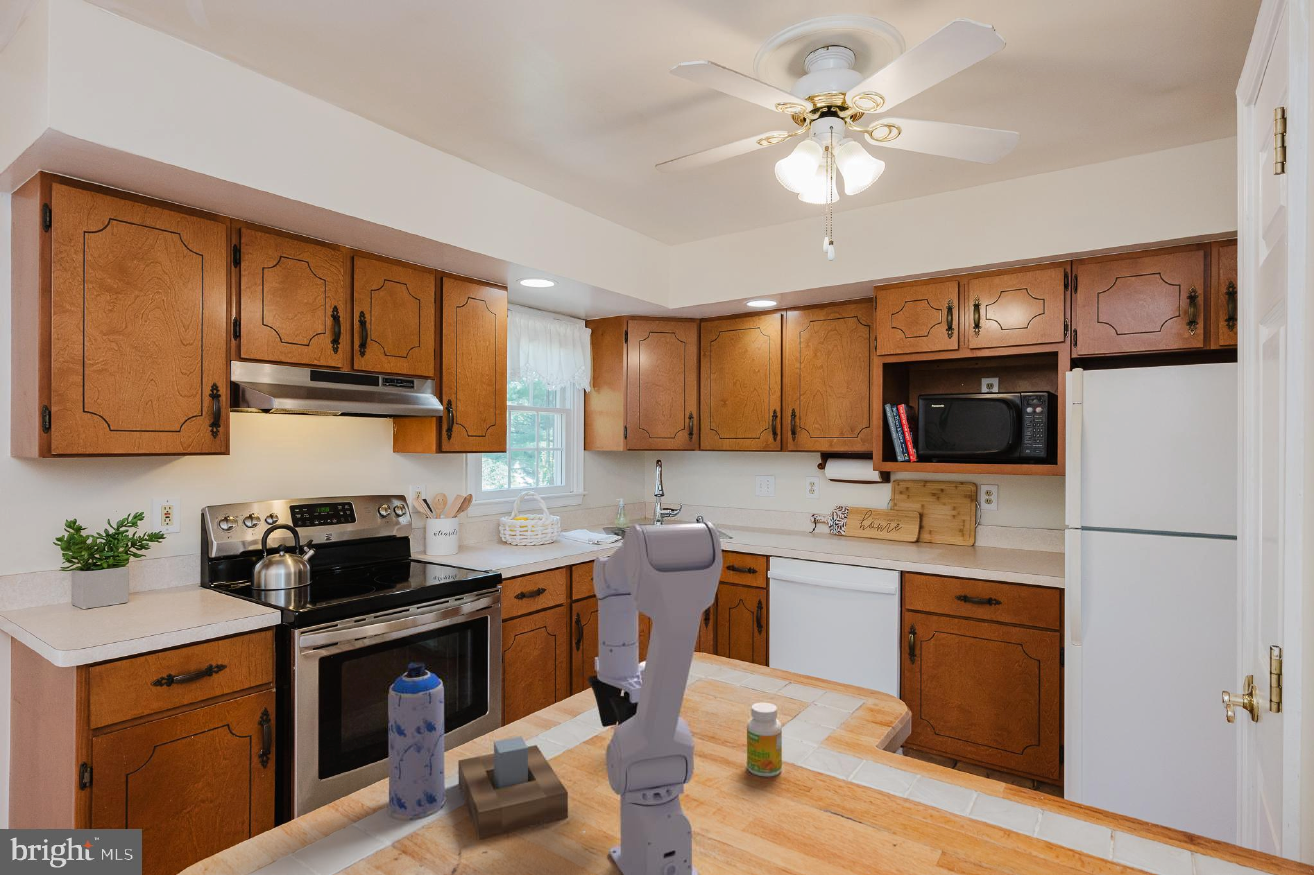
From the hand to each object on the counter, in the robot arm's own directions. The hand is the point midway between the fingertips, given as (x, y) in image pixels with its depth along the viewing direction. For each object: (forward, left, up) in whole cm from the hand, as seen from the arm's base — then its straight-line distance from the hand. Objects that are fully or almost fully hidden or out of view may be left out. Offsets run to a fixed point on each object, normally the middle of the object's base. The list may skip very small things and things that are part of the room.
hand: (618, 735), depth 100 cm
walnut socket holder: (+7, +14, -9) cm, 18 cm away
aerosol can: (+11, +26, -10) cm, 30 cm away
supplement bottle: (-1, -24, -10) cm, 26 cm away
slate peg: (+7, +14, -9) cm, 18 cm away
